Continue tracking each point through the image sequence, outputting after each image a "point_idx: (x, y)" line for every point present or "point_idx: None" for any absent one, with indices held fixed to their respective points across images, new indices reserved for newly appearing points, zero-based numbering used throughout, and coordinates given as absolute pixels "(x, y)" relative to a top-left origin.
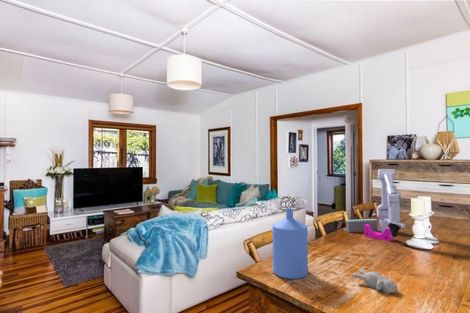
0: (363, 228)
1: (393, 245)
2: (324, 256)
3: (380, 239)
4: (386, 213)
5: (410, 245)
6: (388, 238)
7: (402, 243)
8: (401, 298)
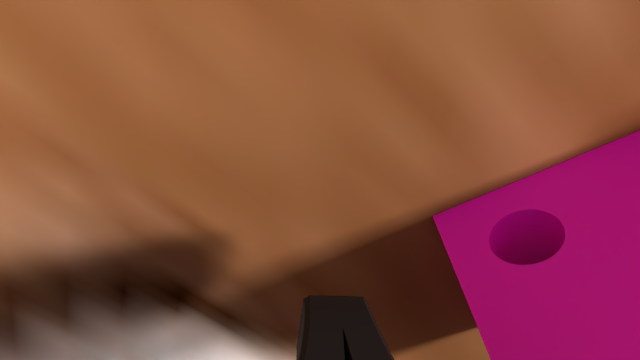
0: None
1: (199, 98)
2: None
3: (611, 144)
4: None
5: (156, 336)
6: (476, 245)
7: (272, 308)
8: None
